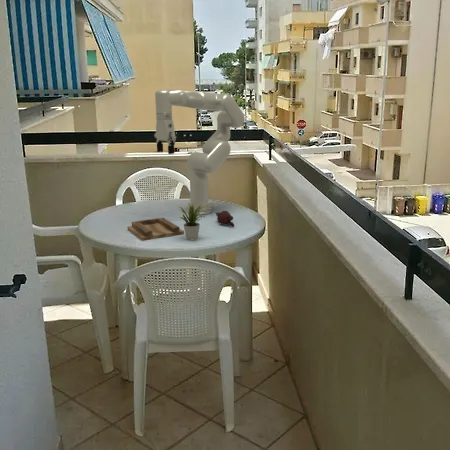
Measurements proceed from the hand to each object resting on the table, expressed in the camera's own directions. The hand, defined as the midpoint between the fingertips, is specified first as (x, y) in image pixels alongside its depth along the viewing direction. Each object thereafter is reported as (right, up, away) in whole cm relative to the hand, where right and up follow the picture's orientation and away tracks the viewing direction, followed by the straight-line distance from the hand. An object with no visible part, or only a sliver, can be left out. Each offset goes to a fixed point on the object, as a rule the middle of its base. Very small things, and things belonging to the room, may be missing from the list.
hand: (165, 152), depth 248 cm
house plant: (+15, -41, -23) cm, 50 cm away
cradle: (-3, -38, -13) cm, 41 cm away
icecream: (+29, -35, -1) cm, 45 cm away
